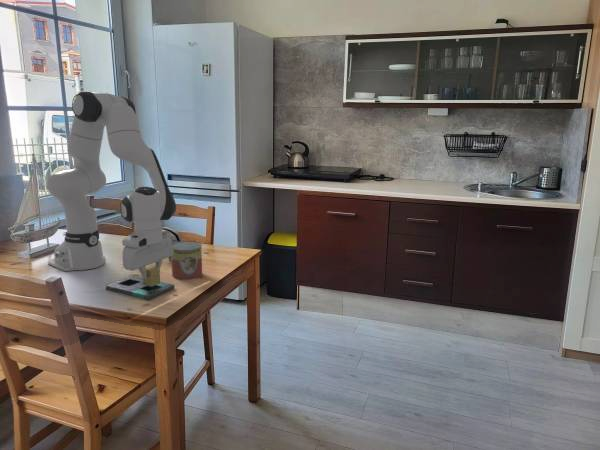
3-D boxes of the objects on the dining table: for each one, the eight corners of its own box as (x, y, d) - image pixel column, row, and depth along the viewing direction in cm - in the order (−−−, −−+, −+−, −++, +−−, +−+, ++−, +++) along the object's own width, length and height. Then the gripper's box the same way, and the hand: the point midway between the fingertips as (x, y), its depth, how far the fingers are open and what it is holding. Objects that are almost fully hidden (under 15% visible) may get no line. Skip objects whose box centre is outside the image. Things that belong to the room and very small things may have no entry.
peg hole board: (106, 290, 160) (105, 285, 160) (132, 280, 170) (132, 275, 170) (149, 301, 151) (149, 296, 151) (174, 290, 162) (174, 284, 161)
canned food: (174, 282, 169) (173, 251, 167) (170, 273, 179) (168, 243, 177) (205, 278, 174) (204, 248, 171) (199, 269, 184) (198, 240, 181)
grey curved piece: (188, 247, 214) (181, 229, 210) (180, 252, 211) (173, 234, 207) (167, 240, 225) (160, 223, 220) (159, 245, 222) (152, 228, 217)
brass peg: (142, 284, 157) (141, 267, 156) (151, 281, 161) (150, 264, 159) (151, 286, 155) (150, 269, 154) (160, 283, 159) (159, 266, 158)
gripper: (163, 228, 165) (165, 265, 168) (117, 241, 147) (121, 282, 150) (176, 230, 162) (178, 268, 165) (132, 244, 144) (135, 286, 147)
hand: (150, 275), depth 157 cm, fingers closed on brass peg, 4 cm apart
